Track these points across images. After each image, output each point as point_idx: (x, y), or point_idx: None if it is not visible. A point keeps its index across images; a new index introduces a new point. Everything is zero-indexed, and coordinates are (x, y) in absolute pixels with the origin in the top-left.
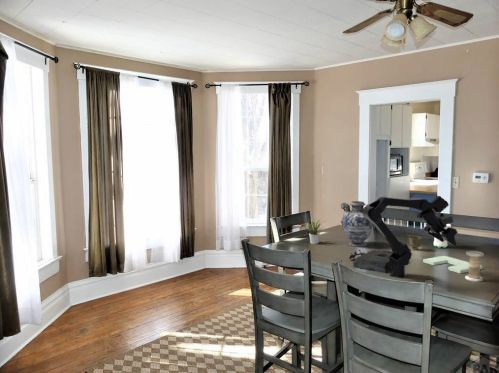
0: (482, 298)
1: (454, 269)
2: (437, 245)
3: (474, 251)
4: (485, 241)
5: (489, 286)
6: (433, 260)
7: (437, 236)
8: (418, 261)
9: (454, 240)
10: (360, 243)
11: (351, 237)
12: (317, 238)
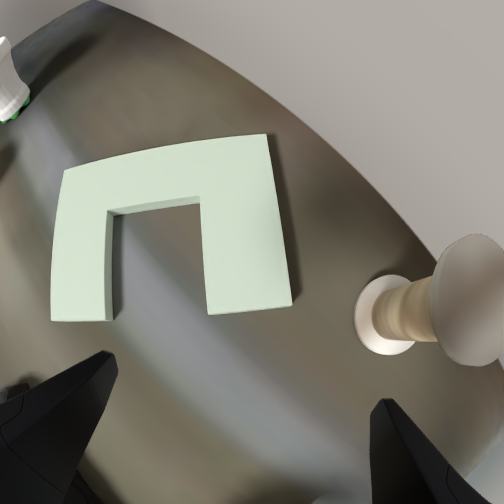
0: (501, 424)
1: (252, 310)
2: (9, 116)
3: (458, 261)
4: (86, 11)
5: None
6: (82, 287)
7: (63, 458)
8: (47, 332)
9: (437, 466)
10: None
11: None
12: None
